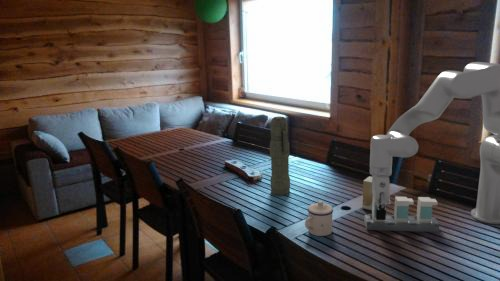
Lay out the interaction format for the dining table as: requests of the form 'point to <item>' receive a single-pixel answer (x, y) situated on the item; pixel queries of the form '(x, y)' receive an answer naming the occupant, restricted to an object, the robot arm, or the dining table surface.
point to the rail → (401, 224)
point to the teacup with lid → (319, 219)
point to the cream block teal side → (425, 209)
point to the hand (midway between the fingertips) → (378, 213)
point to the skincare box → (367, 193)
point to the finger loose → (374, 207)
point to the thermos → (279, 157)
